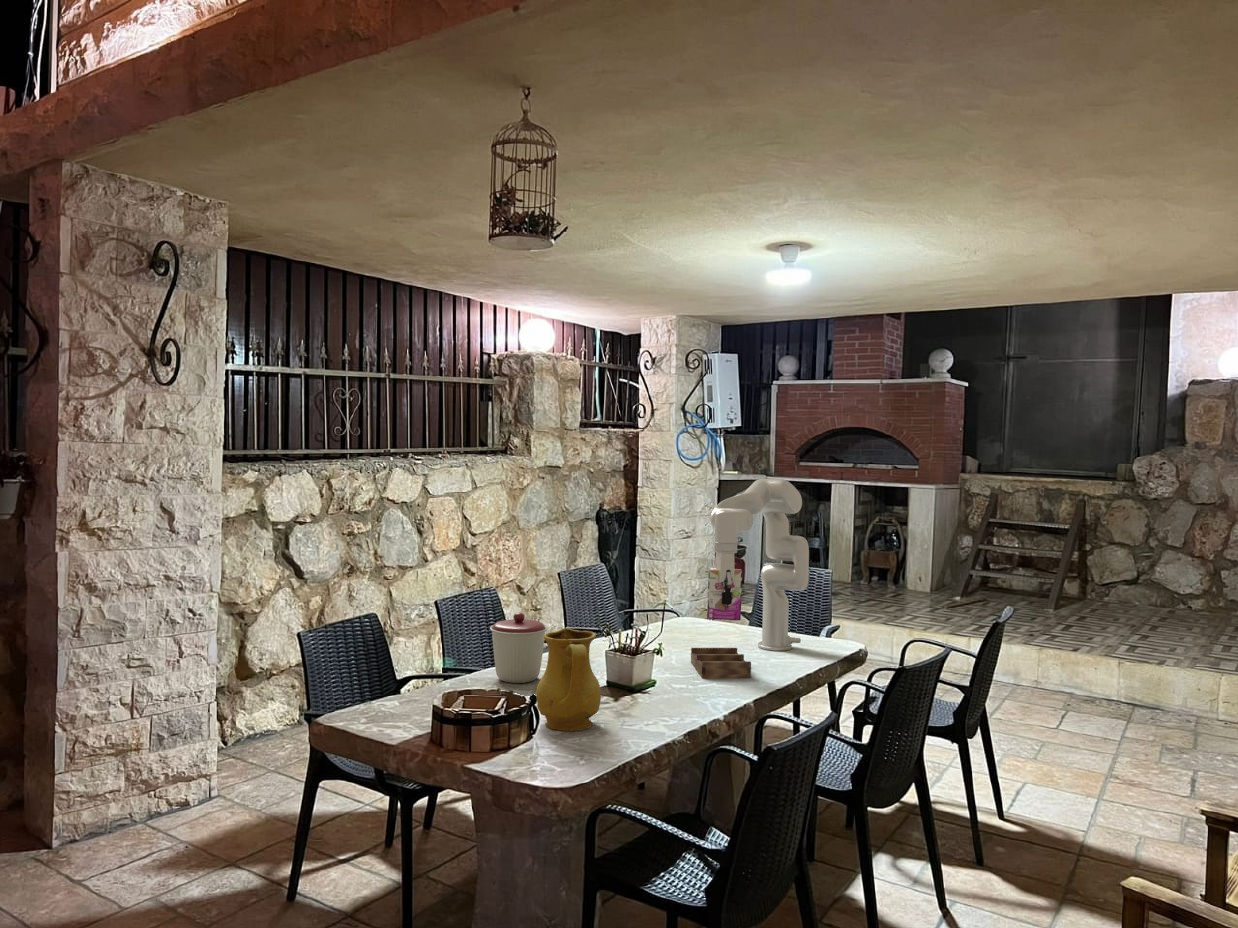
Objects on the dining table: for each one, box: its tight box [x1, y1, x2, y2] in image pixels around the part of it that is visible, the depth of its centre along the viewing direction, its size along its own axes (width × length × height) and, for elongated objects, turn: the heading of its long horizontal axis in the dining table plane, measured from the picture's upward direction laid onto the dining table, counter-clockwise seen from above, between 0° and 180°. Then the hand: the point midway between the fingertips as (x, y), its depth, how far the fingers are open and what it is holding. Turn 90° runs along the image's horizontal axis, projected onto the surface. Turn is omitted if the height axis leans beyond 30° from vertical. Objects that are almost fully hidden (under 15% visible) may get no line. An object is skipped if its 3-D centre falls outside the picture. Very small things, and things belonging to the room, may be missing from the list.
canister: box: [489, 612, 548, 684], centre depth 279 cm, size 18×18×21 cm
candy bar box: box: [706, 567, 743, 621], centre depth 291 cm, size 11×5×16 cm, turn 84°
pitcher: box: [535, 627, 602, 732], centre depth 234 cm, size 17×19×25 cm
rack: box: [690, 647, 752, 679], centre depth 296 cm, size 16×21×5 cm
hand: (724, 602), depth 291 cm, fingers closed on candy bar box, 5 cm apart
